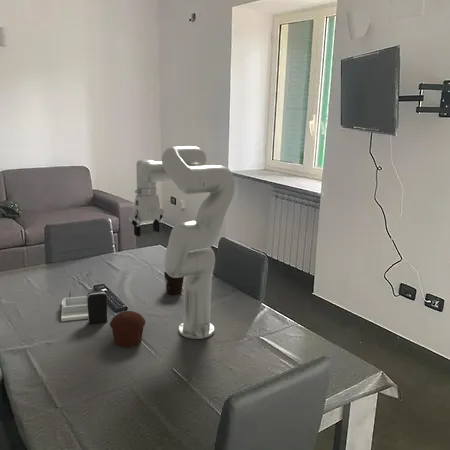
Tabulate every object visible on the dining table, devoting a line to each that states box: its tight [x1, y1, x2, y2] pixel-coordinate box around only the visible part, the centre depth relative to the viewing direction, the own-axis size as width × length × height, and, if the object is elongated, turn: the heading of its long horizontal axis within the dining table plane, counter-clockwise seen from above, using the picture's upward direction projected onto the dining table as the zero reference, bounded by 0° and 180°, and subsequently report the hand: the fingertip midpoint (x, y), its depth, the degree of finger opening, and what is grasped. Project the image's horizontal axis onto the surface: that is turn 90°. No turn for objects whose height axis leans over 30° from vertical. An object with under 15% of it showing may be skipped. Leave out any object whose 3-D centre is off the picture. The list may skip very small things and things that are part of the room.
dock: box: [60, 290, 88, 322], centre depth 180 cm, size 26×13×4 cm, turn 18°
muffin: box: [109, 310, 146, 348], centre depth 153 cm, size 12×11×10 cm
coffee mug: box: [163, 268, 185, 296], centre depth 195 cm, size 12×9×10 cm
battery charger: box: [86, 290, 108, 325], centre depth 166 cm, size 7×4×11 cm, turn 112°
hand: (147, 233), depth 184 cm, fingers open, 9 cm apart
